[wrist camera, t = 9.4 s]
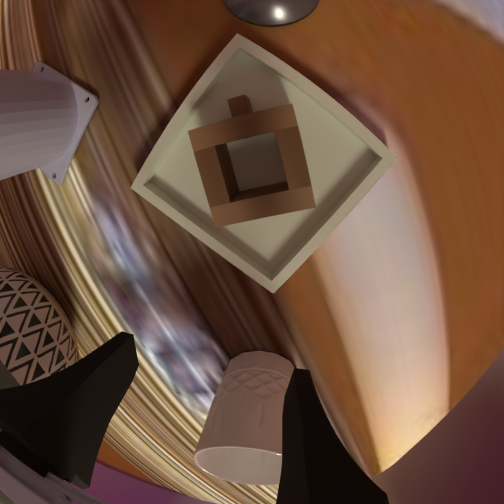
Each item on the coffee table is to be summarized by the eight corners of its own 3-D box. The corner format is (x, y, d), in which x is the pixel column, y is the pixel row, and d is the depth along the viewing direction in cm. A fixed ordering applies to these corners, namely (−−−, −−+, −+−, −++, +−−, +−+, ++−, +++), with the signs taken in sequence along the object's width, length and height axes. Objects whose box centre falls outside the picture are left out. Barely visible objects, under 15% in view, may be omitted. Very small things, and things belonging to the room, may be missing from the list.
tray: (140, 183, 19) (130, 187, 18) (241, 40, 14) (237, 33, 13) (274, 282, 21) (273, 293, 20) (389, 155, 16) (397, 158, 15)
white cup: (314, 352, 23) (318, 455, 14) (292, 404, 26) (287, 489, 17) (223, 336, 24) (192, 436, 15) (216, 391, 27) (193, 474, 18)
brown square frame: (226, 212, 19) (215, 227, 16) (198, 113, 16) (182, 110, 14) (311, 195, 18) (315, 207, 15) (286, 90, 15) (286, 81, 12)
